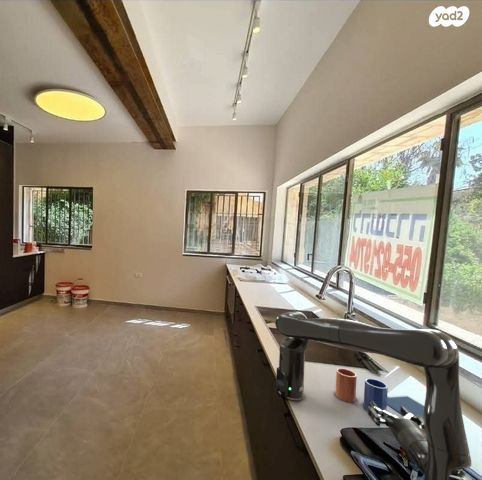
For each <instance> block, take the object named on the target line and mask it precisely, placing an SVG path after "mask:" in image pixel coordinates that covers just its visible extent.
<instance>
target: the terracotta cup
mask: <svg viewBox="0 0 482 480" xmlns="http://www.w3.org/2000/svg"><path fill="white" fill-rule="evenodd" d="M335 372H336V373H335V392H334V393H335V396H336V397H337V398H338V399H339V400H341V401H344V402H348V403H355V402H356V398H357V397H356V396H357V378H358V377H357V375H358V374H357V373H356V372H355V371H353V370H351V369H348V368H343V367H341V368H339V367H338V368H336V370H335Z"/></svg>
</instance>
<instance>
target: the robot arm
mask: <svg viewBox="0 0 482 480" xmlns="http://www.w3.org/2000/svg"><path fill="white" fill-rule="evenodd" d="M274 325H275V328H276V330H277V331H278V333H280V335H282V336H284V337H285V338H284V339H283V340H282V341H280V342H279V357H278V362H279V363H278V367H276V377H275V393H276V395H277V396H278V397H279V398H281V397H282V399H284V400H290V401H296V402H297V401H299V402H300V401H302V400H303V399H304V398H305V397H304V396H305V395H304V392H305V391H304V390H305V368H306V367H305V366H306V365H305V363H306V352H307V349H308V346H309V341H313V342H316V343H319V344H325V345H328V346H332V347H336V348H341V349H344V350H350V351H354V352H355V351H360V352H364V353H366V354H367V353H368V354H374V355H375V354H376V355H380V356H385V357H388V358H391V359H394V360H397V361H400V362H404V363H407V364H409V365H413V366H416V367H421V368H423V371H424V375H425V384H426V385H425V386H426V387H425V388H426V390H425V392H426V393H425V399H424V405H423V406H424V420H423V418H422V417H420V416H414V415H413V414H412V413H410V412H409V411H408V410H407V409H405V408H404V407H403V406H401V408H400V412H401V413H402V414H403V415H402V414H400V415H398V414H394V413H391V412H389V411H385V410H381V409H379V408H378V407H377V405H376V404H375V402H374V401H371V402H370V406H369V407H368V410H367V415H368V416H369V418H370V419H371V420H372V422H373V423H374V424H375V426H378V427H380V426H381V425H385V426H386V427H387V428H389V430H390V432H391V434H392V436H393V437H394V438H395V440H396V441H397V442H398V444H399V445H400V447H401V448H402V449H403V448H404V449H405V450H406V451H407V452H408V454H409V455H410V456H409V455H408V454H407V455H408V456H409V458H410V459H411V458H412V459H411V461H412V462H413V463H414V464H415V466H416V467H417V469H418V470H419V471H420V472H421V474H422V475H423V480H475V479H474V478H473V477H472V476H471V475H469V474H468V473H467V472H466V471H465V470H466V469H469V468H470V467H472V457H471V453H470V447H469V443H468V439H467V433H466V429H465V424H464V423H465V422H464V417H463V412H462V403H461V392H460V391H461V389H460V351H459V347H458V345H457V343H456V341H454V339H453V338H452V337H451V336H450V335H448V334H446V333H445V332H443V331H440V330H437V329H432V328H431V329H430V328H426V329H425V328H409V329H407V328H403V329H402V328H386V327H378V326H373V325H371V324H367V323H364V322H361V321H357V320H352V319H347V318H346V319H345V318H338V317H337V318H336V317H317V318H308V317H307V316H306V315H305V313H303V312H301V311H290V312H289V311H288V312H283V313H281V314H279V315H278V316H277V317H276V319H275V321H274ZM378 412H380V413H381V415H380V414H378ZM404 449H403V450H404ZM464 469H465V470H464Z"/></svg>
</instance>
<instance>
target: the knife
mask: <svg viewBox="0 0 482 480" xmlns="http://www.w3.org/2000/svg"><path fill="white" fill-rule="evenodd" d="M354 355H355V357H356V360H358V361H361V362H362V363H363V364H364V365H365V367H366V368H367V370H369V371H370V372H373V373H374V374H376V375H380V374H381V372H380V370H378V368H377V367H376V366H375V365H374V364H373V358H370V356H369V355H368V354H367V352H360V351H354Z"/></svg>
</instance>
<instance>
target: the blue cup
mask: <svg viewBox="0 0 482 480" xmlns="http://www.w3.org/2000/svg"><path fill="white" fill-rule="evenodd" d="M363 388H364V389H363V390H364V391H363V408H364V409H365V410H366V411H368V407H369V406H370V402H371V401H374V402H375V404H376V405H377V407H378V408H379V409H381V410H385V411H387V409H388V405H387V398H388V393H389V392H388V388H389V387H388V384H386V382H383V381H382V380H379V379H376V378H369V377H368V378H365V379H364V387H363ZM387 412H388V411H387ZM378 414H380V415H381V413H380V412H378Z"/></svg>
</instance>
